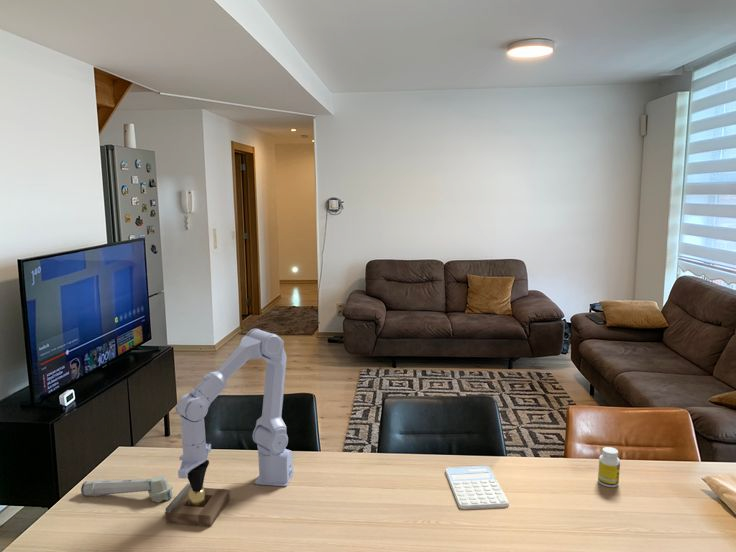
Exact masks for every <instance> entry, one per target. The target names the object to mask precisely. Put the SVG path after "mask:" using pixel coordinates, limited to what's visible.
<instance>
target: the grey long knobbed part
mask: <svg viewBox="0 0 736 552" xmlns="http://www.w3.org/2000/svg"><path fill="white" fill-rule="evenodd" d="M172 490H173V485H172V484H171V483H169V482H168V480H167V478H166V476H164V475H158V476H155V477H153V478H145V479H143V478H141V479H140V478H136V479H133V478H132V479H99V478H96V479H95V480H87V481H84V482H83V483H82V484H81V488H80V492H81V496H82V497H83V496H84V497H95V498H98V497H99V496H106V495H117V494H130V493H137V492H138V493H142V492H148V497H150V498H151V501H152V502H155V503H162V502H163V501H168V500H170V499H171V498H172V497H173V492H172Z"/></svg>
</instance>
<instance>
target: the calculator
mask: <svg viewBox="0 0 736 552" xmlns="http://www.w3.org/2000/svg"><path fill="white" fill-rule="evenodd" d="M445 475H446V478H447V481H448V482H449V486H450V488H451V490H452V493H453V496H454V498H455V501H456V503H457V506H458V508H459V509H461V510H476V509H477V510H478V509H479V510H480V509H493V508H494V509H499V508H508V507H509V506H510V503H509V499H508V498H507V496H506V494H505V493H504V491H503V489H502V486H501V485H500V483H499V481H498V480H497V477H496V476H495V474H494V472H493V470H492V469H491V467H490V466H489V465H475V466H474V465H471V466H470V465H468V466H451V467H446V468H445Z"/></svg>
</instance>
